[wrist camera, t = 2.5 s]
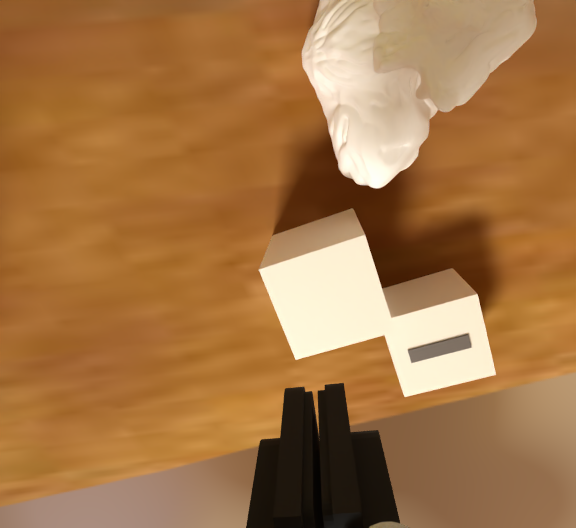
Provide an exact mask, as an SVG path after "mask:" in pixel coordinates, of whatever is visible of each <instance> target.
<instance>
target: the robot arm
mask: <svg viewBox="0 0 576 528" xmlns="http://www.w3.org/2000/svg"><path fill="white" fill-rule="evenodd" d="M318 412H319V434H318V428H317V421H316V414H315V407H314V400H313V394H312V391H310V392H305V388H304V387H296V388H286V389H285V393H284V404H283V415H282V425H281V436H280V438H275V439H262V440H261V441H260V445H259V450H258V457H257V463H256V469H255V476H254V482H253V488H252V495H251V501H250V507H249V514H248V520H247V526H246V528H409V527H407V526H405V525H403V524H400V520H399V516H398V512H397V508H396V503H395V499H394V495H393V490H392V486H391V482H390V478H389V473H388V469H387V465H386V460H385V457H384V452H383V448H382V443H381V440H380V435H379V432H378V430H376V431H363V432H350V425H349V418H348V411H347V404H346V397H345V390H344V383H339V384H328V385H325V390H321V391H318ZM319 440H320V441H319Z"/></svg>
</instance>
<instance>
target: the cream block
mask: <svg viewBox="0 0 576 528" xmlns="http://www.w3.org/2000/svg"><path fill="white" fill-rule="evenodd" d="M259 271H260V274H261V276H262V279H263V281H264V284H265V286H266V288H267V291H268V293H269V296H270V298H271V301H272V303H273V305H274V308H275V310H276V313H277V315H278V318H279V320H280V322H281V325H282V327H283V330H284V332H285V335H286V337H287V340H288V342H289V344H290V347H291V349H292V352H293V354H294V357H295V359H296V360H297V359H301V358H304V357H308V356H311V355H315V354H318V353H322V352H326V351H329V350H333V349H336V348H340V347H343V346H347V345H351V344H354V343H358V342H361V341H365V340H368V339H372V338H376V337H379V336H383V335H386V334H390V333H393V332H396V331H395V328H394V325H393V322H392V319H391V316H390V312H389V309H388V306H387V303H386V300H385V296H384V293H383V290H382V287H381V284H380V281H379V277H378V274H377V271H376V268H375V265H374V262H373V258H372V255H371V252H370V249H369V246H368V242H367V239H366V236H365V233H364V231H363V229H362V227H361V225H360V222H359V220H358V218H357V216H356V214H355V211H354V209H353V208H351V209H348V210H346V211H343V212H340V213H337V214H334V215H331V216H328V217H325V218H322V219H319V220H316V221H313V222H310V223H307V224H305V225H302V226H299V227H296V228H293V229H290V230H287V231H284V232H281V233H278V234H275V235H272V238H271V240H270V243H269V245H268V248H267V250H266V253H265V255H264V258H263V260H262V263H261V265H260V268H259Z"/></svg>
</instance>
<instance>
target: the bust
mask: <svg viewBox="0 0 576 528" xmlns="http://www.w3.org/2000/svg"><path fill="white" fill-rule="evenodd" d="M533 1H534V0H320V2H319V6H318V9H317V12H316V16H315V19H314V23H313V26H312V27H311V28H310V29H309V31H308V34H307V37H306V40H305V44H304V47H303V49H302V65H303V68H304V70H305V71H306V73H307V75H308V77H309V80H310V82H311V84H312V85H313V87H314V88H315V91H316V94H317V97H318V99H319V100H320V102H321V104H322V107H323V112H324V114H325V116H326V118H327V122H328V129H329V133H330V136H331V139H332V144H333V149H334V152H335V155H336V158H337V160H338V167H339V170H340V172H341V173H342V174H343V175H344V176H346V177H348V178H351V179H353V180H354V182H355V183H356V184H359V185H369V186H370V187H372V188H381V187H383V186H385V185H386V184H387V183H389V182H390V181H391V180H392V179H393V178H394V177H395V176H396V175H397V174H398V173H399V172H400V171H402V170H404V169H406V168H408V167H409V166H410V165H411V164H412V163H413V162H414V160H415V159H416V158H417V157H418V153H419V147H420V145H421V144H422V143H423V142H424V141H425V139H426V138H427V137H428V133H429V120H430V118H432V117H433V116H434V115H435V114H436V112H437V111H438V109H439V110H440V111H442V112H449V111H451V110H452V109H453V108H454V107H455V106H459V105H463V104H465V103H466V102H467V101H468V100H469V99H470V98H471V97H472V96H473V95H474V94H475V92H476V91H477V90H478V89H479V88H480V87H481V86H482V84H483V83H484V82H485V81H486V80H487V78H488V76H489V73H491V72H493V71H494V70H495V69H496V68H497V67H498V66H499V65H500V64H501V63H502V62H504V61H505V60H507V59H508V58H509V57H510V56H511V55H512V54H513V53H514V52H515V51H516V50H517V49H518V48H519V47H521V46H522V45H523V44H524V43H525V42H526V41H527V40H528V39H529V38H530V37H531V36H532V34H533V33H534V31H535V28H536V24H537V19H536V16H535V7H534V3H533Z"/></svg>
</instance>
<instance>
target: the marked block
mask: <svg viewBox="0 0 576 528" xmlns="http://www.w3.org/2000/svg"><path fill="white" fill-rule="evenodd" d="M382 290H383V293H384V296H385V300H386V303H387V306H388V309H389V312H390V316H391V319H392V322H393V325H394V328H395V331H396V332H393V333H390V334H386V335H385V338H386V342H387V345H388V348H389V351H390V354H391V357H392V360H393V363H394V366H395V370H396V373H397V376H398V379H399V382H400V385H401V388H402V391H403V394H404V397H407V396H411V395H415V394H419V393H423V392H427V391H431V390H435V389H439V388H444V387H448V386H452V385H456V384H460V383H464V382H468V381H472V380H476V379H480V378H484V377H488V376H493V375H496V373H495V368H494V364H493V359H492V355H491V351H490V346H489V342H488V338H487V333H486V329H485V324H484V320H483V316H482V311H481V307H480V302H479V298H478V294H477V293H476V292H475V291H474V290H473V289H472V288H471V287H470V286H469V285H468V284H467V282H466V281H465V280H464V279H463V278H462V277H461V276H460V275H459V274H458V273H457V272H456V271H455V270H454V269H453V268H451V269H447V270H444V271H441V272H437V273H434V274H430V275H427V276H424V277H420V278H417V279H413V280H410V281H407V282H403V283H400V284H396V285H393V286H390V287H386V288H383V289H382Z"/></svg>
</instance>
